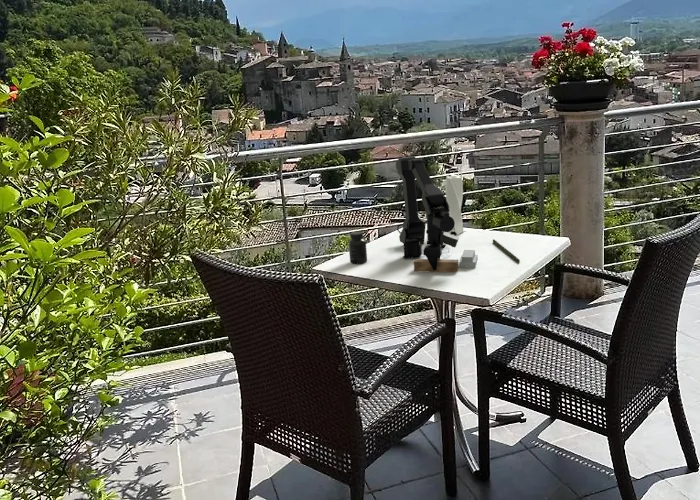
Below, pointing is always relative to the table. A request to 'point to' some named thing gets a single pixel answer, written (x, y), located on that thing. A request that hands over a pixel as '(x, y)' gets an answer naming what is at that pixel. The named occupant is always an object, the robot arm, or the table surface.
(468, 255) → the ridge block
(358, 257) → the supplement bottle
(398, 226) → the coffee mug
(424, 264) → the walnut rod
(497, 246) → the rod
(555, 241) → the table surface
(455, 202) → the skyscraper
